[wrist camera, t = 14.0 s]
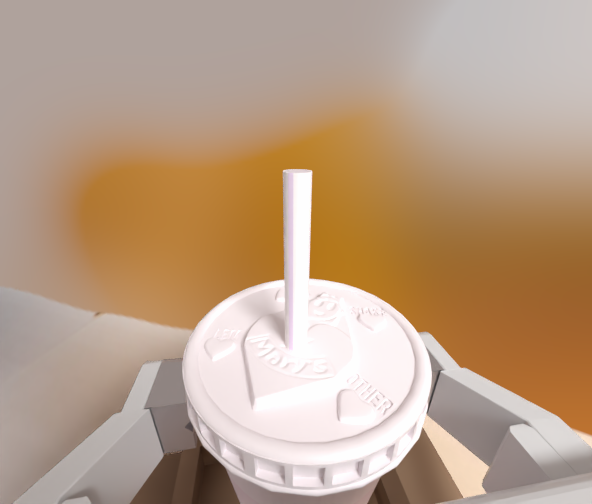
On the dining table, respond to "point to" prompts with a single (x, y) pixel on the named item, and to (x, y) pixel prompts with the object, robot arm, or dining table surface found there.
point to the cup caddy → (223, 499)
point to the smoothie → (305, 380)
